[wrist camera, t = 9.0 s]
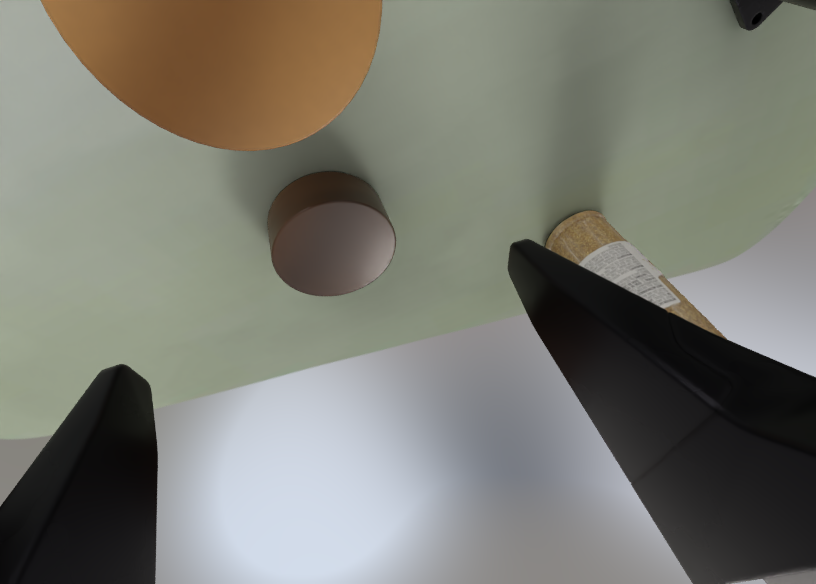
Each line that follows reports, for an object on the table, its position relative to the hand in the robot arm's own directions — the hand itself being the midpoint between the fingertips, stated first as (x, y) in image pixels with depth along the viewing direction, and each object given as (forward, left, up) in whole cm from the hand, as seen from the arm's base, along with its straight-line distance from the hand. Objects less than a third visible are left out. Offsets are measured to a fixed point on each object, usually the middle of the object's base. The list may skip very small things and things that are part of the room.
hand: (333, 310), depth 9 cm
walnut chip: (-4, +4, -11) cm, 13 cm away
